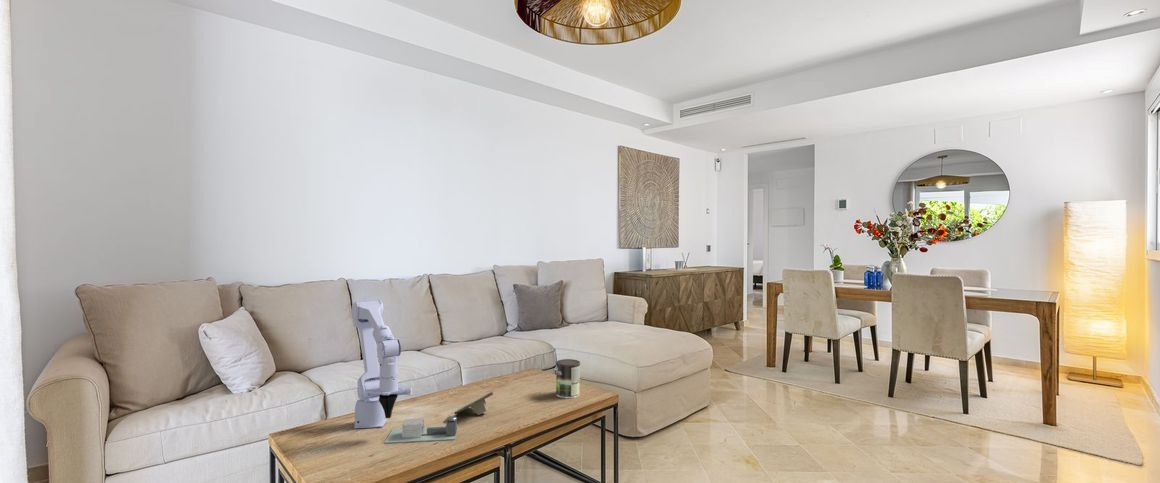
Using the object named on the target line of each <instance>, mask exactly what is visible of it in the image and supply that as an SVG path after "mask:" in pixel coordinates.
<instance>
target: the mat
mask: <svg viewBox="0 0 1160 483" xmlns="http://www.w3.org/2000/svg"><path fill="white" fill-rule="evenodd" d="M430 427H446V425H431V426H430V425H429V426H424V432H423V433H422V437H421V438H403V439H402V427H393V428H392V429H391V431H390V433H389V434H388V436H387V437H386V440H384V444H385V445H388V444H403V443H405V444H406V443H423V442H424V443H425V442H441V441H442V442H443V441H444V442H445V441H455V440H456V437H457V434H458V433H457V432H458V431H457V432H456V435H455V436H446V434H440V435H427V428H430ZM458 428H459V424H457V430H458Z"/></svg>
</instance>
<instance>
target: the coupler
mask: <svg viewBox="0 0 1160 483" xmlns="http://www.w3.org/2000/svg"><path fill="white" fill-rule="evenodd" d="M457 425H458V417H457V416H456V415H449V416H447V417H446V425H445V426H446V427H430V428H427V435H440V434H446V436H455V435H456V436H457V433H456V432H458V429H457Z"/></svg>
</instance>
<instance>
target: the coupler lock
mask: <svg viewBox="0 0 1160 483" xmlns="http://www.w3.org/2000/svg"><path fill="white" fill-rule="evenodd" d="M424 427H425V418H408V419H407V418H405V419H404V421H403V423H402V427H401V428H402V439H403V438H421V437H422V433H423V432H424Z"/></svg>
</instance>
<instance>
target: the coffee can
mask: <svg viewBox="0 0 1160 483" xmlns="http://www.w3.org/2000/svg"><path fill="white" fill-rule="evenodd" d="M555 363H556V366H555V367H556V368H555V369H556V375H555V377H556V378H555V379H556V380H555V382H556V383H555V387H556V388H555V389H556V390H555V396H556V397H558V398H561V399H575V398H578V397H580V382H581V380H580V376H581V372H580V371H581V370H580V368H581V361H579V360H577V359H573V358H572V359H569V358H567V359H566V358H563V359H559V360H556V362H555Z"/></svg>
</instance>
